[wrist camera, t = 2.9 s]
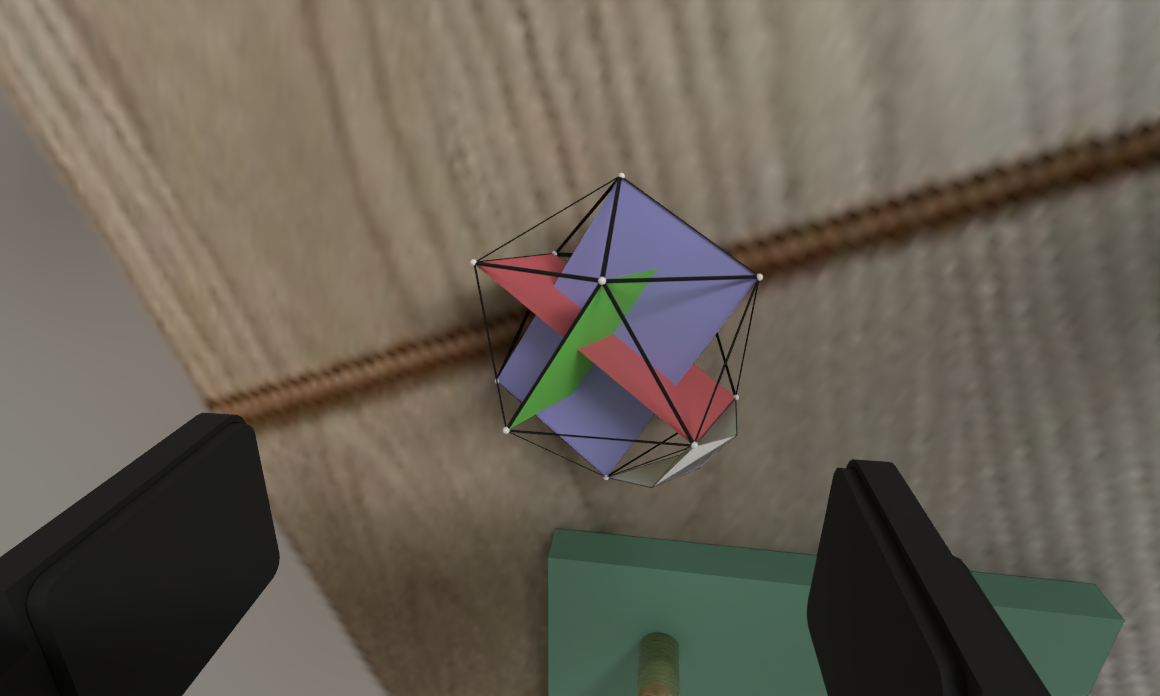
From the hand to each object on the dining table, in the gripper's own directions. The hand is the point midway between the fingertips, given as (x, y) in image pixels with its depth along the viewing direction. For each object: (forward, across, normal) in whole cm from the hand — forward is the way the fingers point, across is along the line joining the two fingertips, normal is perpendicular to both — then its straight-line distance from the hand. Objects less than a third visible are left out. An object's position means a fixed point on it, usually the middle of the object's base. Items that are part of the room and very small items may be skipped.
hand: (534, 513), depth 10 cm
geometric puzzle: (+10, -1, -1) cm, 10 cm away
